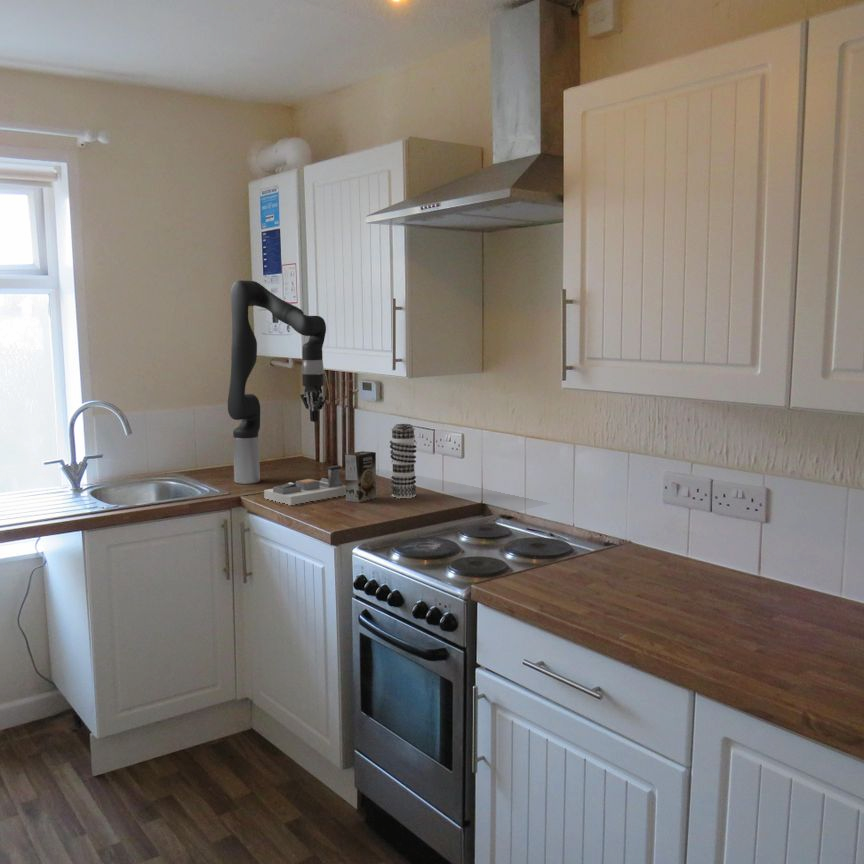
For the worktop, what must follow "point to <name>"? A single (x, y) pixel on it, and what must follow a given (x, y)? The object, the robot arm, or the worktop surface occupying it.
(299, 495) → the control panel
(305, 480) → the push button
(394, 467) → the decorative candle
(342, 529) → the worktop surface
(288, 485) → the rocker switch
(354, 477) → the coffee box
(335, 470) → the slide paddle
